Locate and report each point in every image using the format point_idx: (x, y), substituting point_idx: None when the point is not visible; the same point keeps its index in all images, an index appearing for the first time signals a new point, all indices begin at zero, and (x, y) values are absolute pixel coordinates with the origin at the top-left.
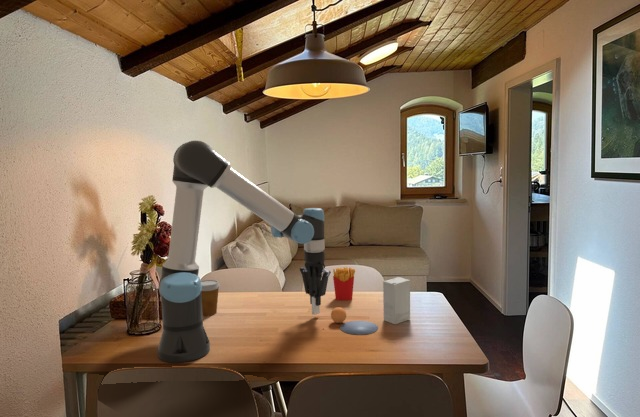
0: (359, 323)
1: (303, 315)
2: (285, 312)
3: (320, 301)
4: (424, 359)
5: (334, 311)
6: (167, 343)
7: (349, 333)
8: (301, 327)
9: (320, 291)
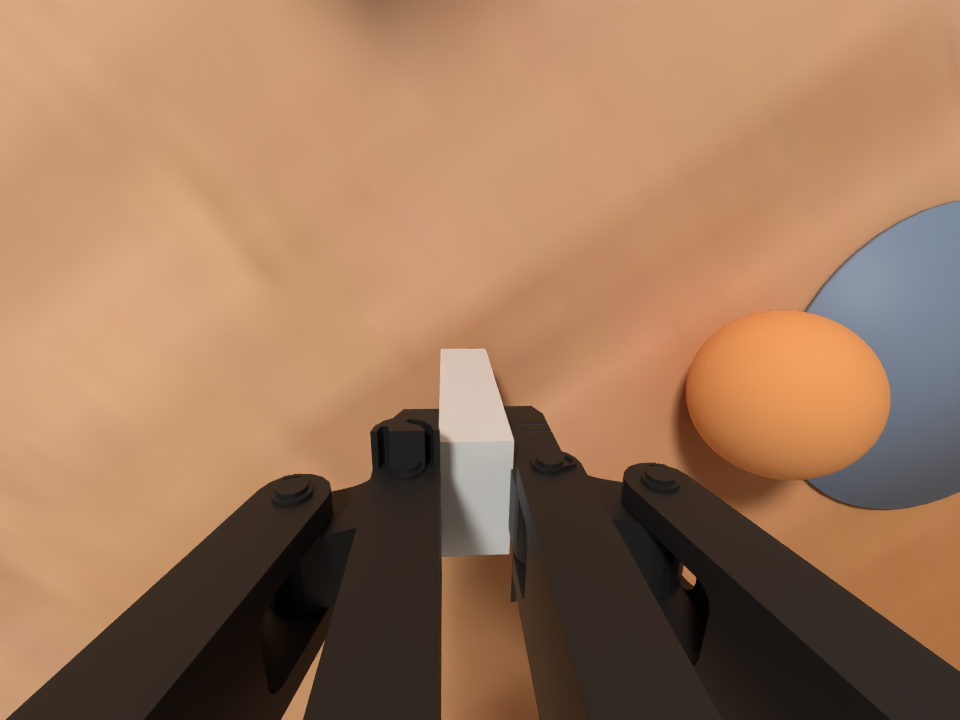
0: (918, 291)
1: (325, 401)
2: (107, 437)
3: (550, 436)
4: None
5: (795, 478)
6: None
7: (896, 506)
8: (515, 605)
9: (693, 657)
